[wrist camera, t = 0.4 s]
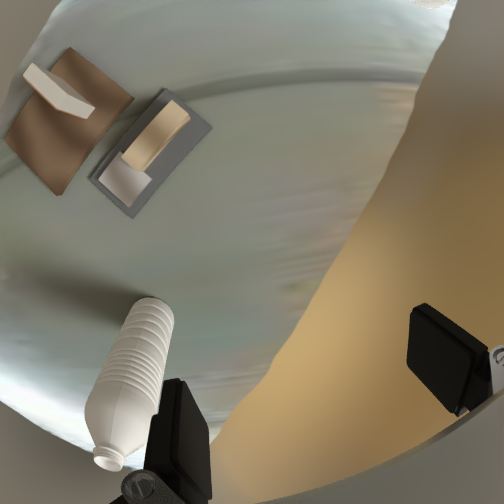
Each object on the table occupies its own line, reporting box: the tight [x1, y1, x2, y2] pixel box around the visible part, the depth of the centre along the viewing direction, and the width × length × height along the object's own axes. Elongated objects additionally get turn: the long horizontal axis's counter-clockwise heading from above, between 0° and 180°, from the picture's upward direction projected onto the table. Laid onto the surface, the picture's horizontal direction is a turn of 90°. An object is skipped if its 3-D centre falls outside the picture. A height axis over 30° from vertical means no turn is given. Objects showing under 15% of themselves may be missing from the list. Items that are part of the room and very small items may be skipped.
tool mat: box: [90, 88, 213, 219], centre depth 33 cm, size 15×8×1 cm, turn 137°
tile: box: [23, 63, 95, 119], centre depth 24 cm, size 2×8×8 cm, turn 47°
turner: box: [98, 100, 191, 207], centre depth 31 cm, size 13×6×4 cm, turn 137°
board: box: [5, 47, 134, 196], centre depth 29 cm, size 16×14×2 cm
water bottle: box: [85, 297, 174, 471], centre depth 27 cm, size 9×6×25 cm
